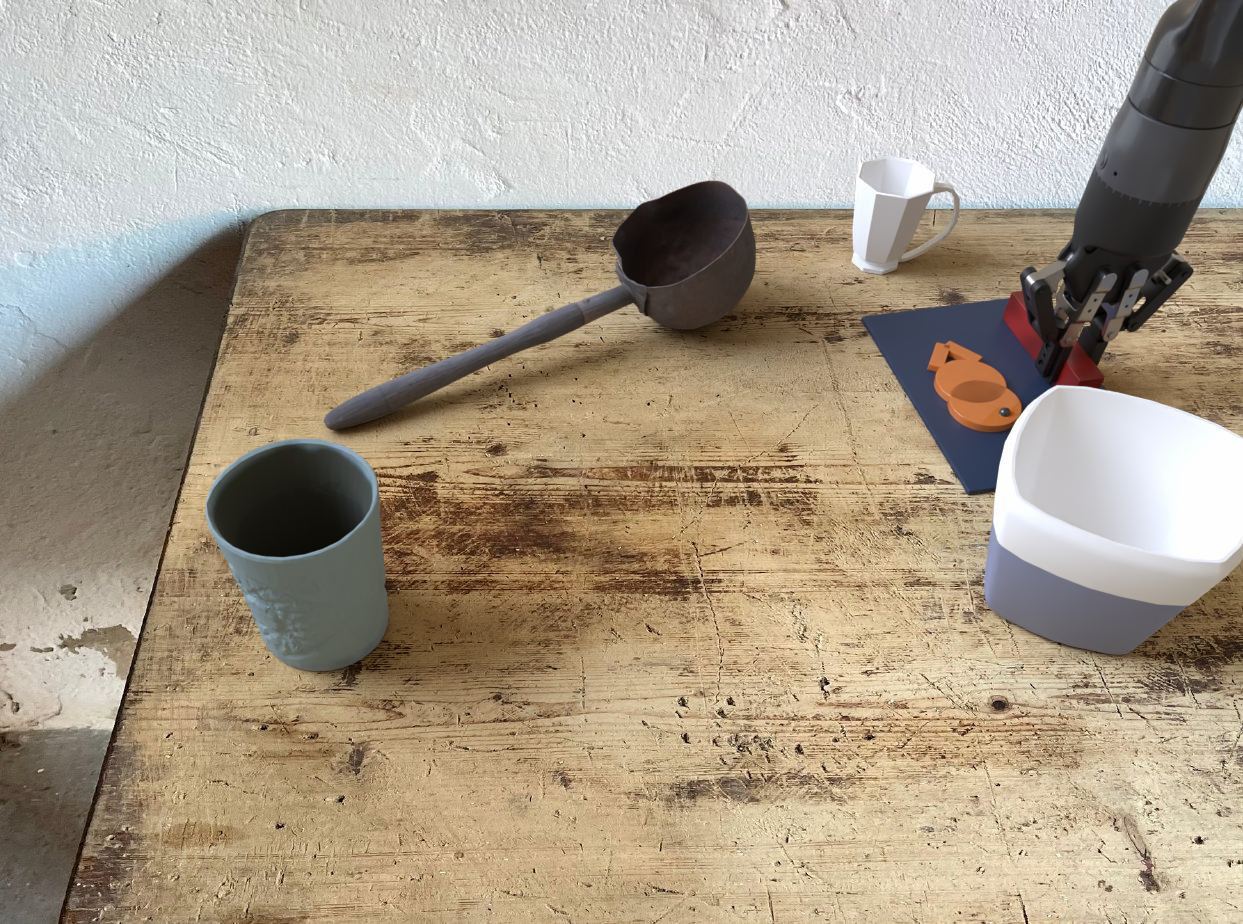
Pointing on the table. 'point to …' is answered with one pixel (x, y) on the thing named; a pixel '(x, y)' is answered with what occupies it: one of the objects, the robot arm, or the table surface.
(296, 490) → the blue green tumbler
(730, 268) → the ladle
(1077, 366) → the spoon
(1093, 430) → the bowl
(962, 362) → the fish
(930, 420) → the towel
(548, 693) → the table surface
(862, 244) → the cup
